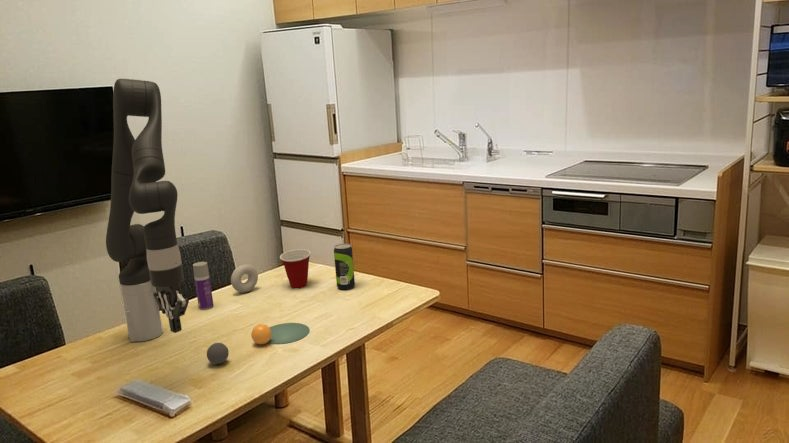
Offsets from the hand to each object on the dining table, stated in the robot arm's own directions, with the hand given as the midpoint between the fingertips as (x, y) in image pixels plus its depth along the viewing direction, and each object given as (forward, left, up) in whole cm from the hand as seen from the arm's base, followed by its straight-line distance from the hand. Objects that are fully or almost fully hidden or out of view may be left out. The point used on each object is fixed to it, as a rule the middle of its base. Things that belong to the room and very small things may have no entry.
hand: (176, 331), depth 149 cm
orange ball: (+23, +7, -10) cm, 26 cm away
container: (+15, +46, -13) cm, 50 cm away
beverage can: (+60, +34, -13) cm, 70 cm away
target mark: (+30, +10, -13) cm, 34 cm away
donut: (+30, +52, -13) cm, 61 cm away
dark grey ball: (+9, +2, -10) cm, 14 cm away
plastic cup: (+47, +46, -13) cm, 67 cm away
